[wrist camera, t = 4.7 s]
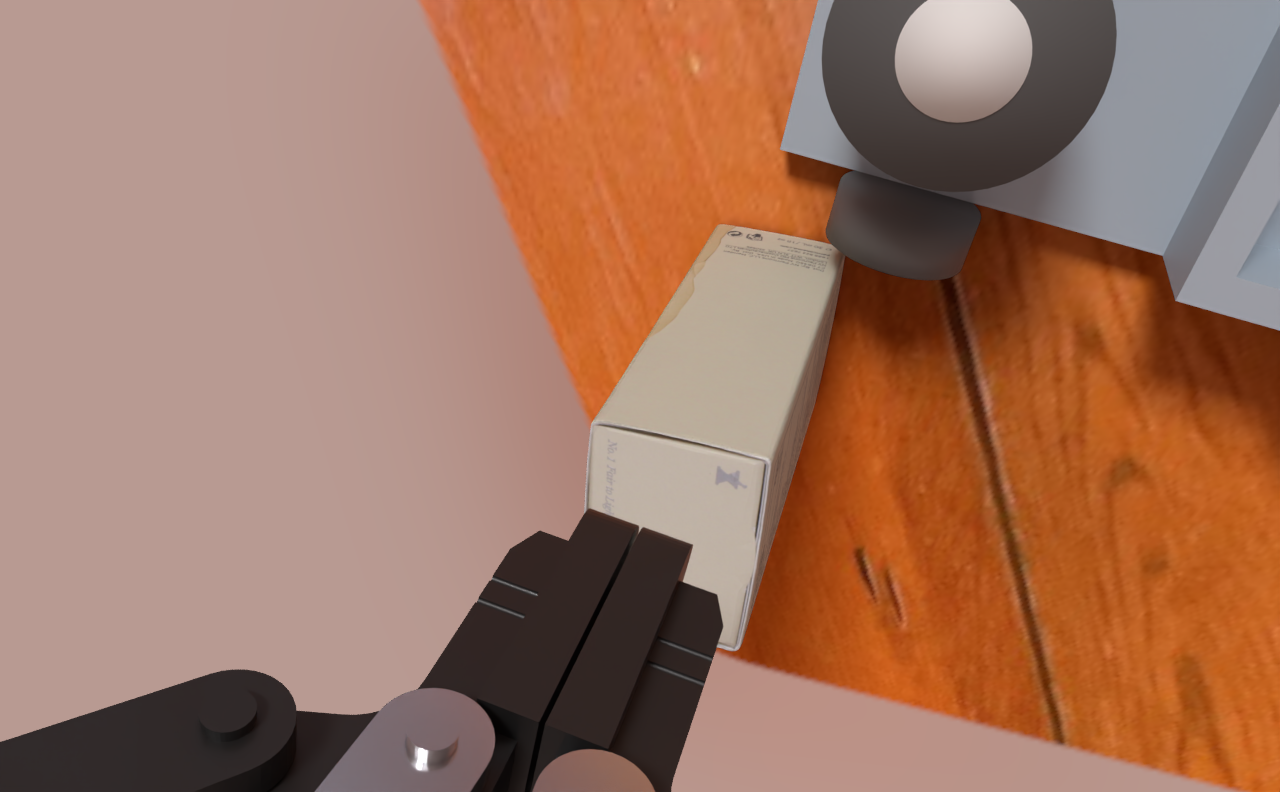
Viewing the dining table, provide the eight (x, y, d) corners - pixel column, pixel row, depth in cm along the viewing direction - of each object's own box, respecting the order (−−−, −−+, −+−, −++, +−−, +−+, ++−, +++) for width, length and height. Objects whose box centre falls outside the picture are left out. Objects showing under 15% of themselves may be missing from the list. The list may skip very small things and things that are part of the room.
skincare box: (717, 218, 33) (583, 406, 23) (855, 245, 32) (776, 454, 22) (697, 384, 36) (572, 610, 26) (820, 413, 35) (739, 660, 25)
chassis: (1857, -137, 21) (2011, -122, 18) (1467, 383, 28) (1525, 461, 25) (904, -319, 24) (885, -335, 21) (774, 185, 32) (745, 231, 28)
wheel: (1159, -73, 21) (1170, -61, 19) (1046, 193, 25) (1048, 224, 23) (878, -136, 22) (865, -129, 21) (807, 128, 26) (791, 152, 24)
